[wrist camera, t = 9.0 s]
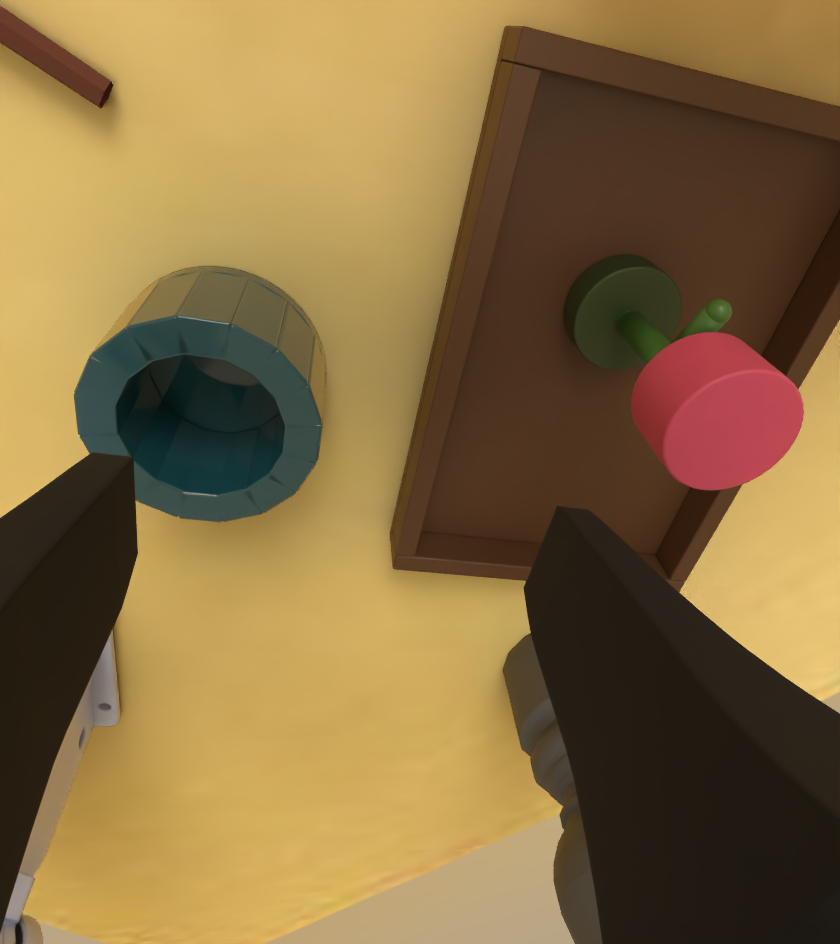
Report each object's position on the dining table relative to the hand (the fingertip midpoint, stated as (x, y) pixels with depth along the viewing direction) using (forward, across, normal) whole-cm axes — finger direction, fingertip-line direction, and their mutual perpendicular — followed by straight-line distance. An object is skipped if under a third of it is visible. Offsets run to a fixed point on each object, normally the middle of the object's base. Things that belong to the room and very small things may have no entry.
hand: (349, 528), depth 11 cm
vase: (+10, +4, +2) cm, 11 cm away
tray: (+10, -8, 0) cm, 13 cm away
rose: (+10, -8, -2) cm, 13 cm away
